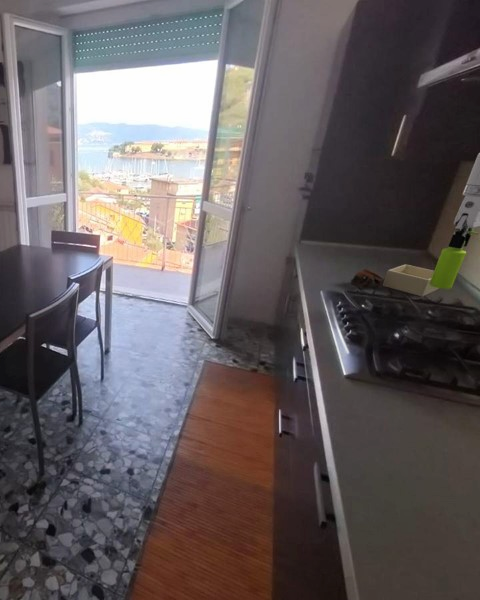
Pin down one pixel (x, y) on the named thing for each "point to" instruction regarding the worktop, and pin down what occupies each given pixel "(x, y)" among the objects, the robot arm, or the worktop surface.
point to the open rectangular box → (410, 280)
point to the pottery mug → (365, 279)
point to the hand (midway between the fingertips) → (457, 246)
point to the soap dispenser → (448, 266)
